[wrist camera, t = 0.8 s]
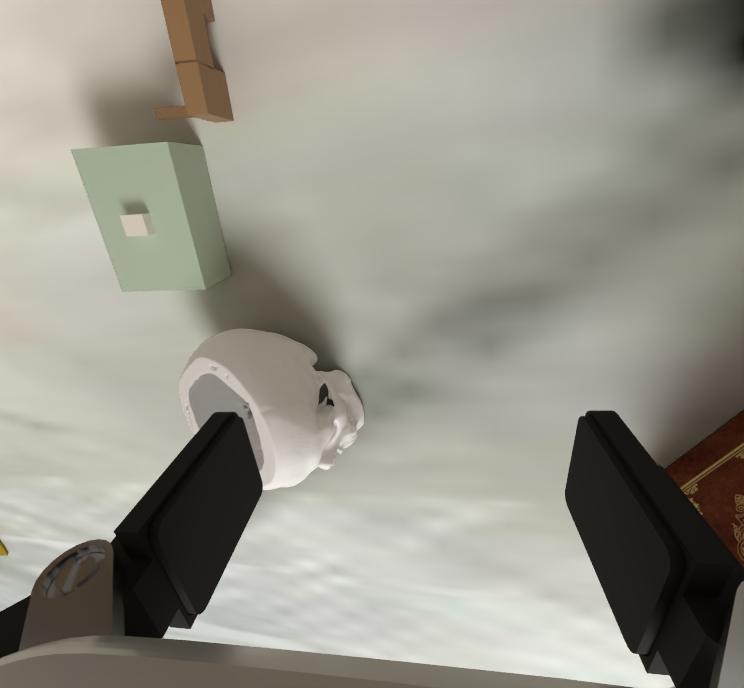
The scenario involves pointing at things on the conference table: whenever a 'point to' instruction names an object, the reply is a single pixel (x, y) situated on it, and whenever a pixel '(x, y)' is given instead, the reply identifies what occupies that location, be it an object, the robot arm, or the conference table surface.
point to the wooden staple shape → (195, 63)
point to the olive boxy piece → (3, 549)
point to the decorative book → (717, 482)
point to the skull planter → (272, 401)
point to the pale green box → (156, 215)
